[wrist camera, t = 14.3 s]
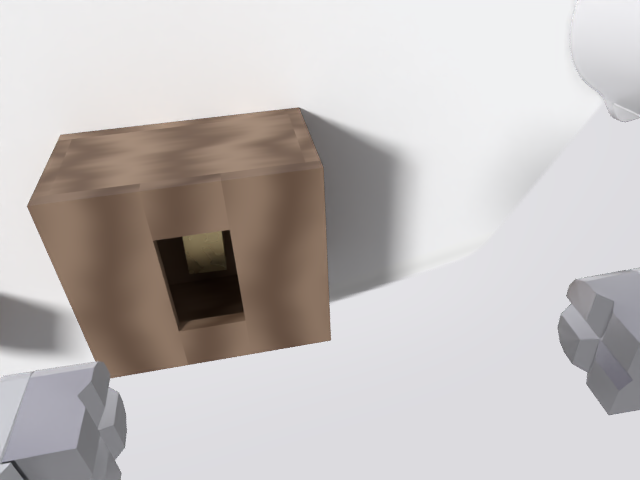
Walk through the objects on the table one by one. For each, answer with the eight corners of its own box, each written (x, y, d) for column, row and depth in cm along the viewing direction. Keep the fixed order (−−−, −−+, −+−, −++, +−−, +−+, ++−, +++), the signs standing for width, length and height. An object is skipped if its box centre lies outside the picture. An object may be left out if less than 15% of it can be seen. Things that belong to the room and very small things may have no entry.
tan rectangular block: (216, 181, 43) (218, 207, 40) (224, 241, 47) (226, 269, 44) (178, 185, 43) (177, 212, 40) (189, 245, 46) (189, 274, 43)
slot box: (299, 107, 42) (323, 167, 34) (309, 264, 51) (330, 340, 44) (60, 134, 40) (26, 206, 32) (118, 294, 49) (103, 379, 41)
